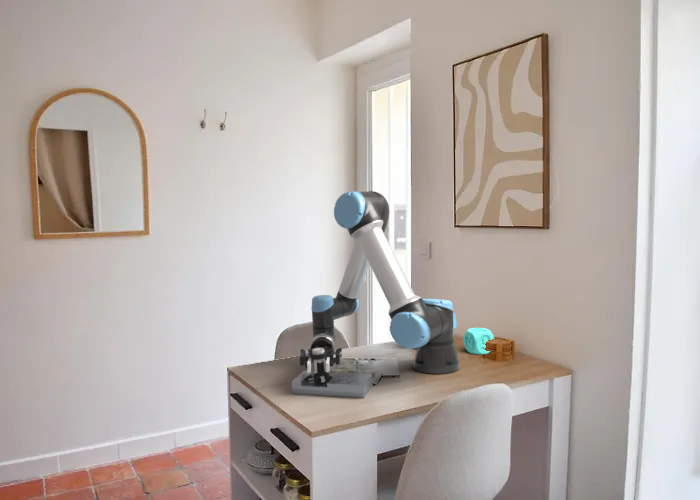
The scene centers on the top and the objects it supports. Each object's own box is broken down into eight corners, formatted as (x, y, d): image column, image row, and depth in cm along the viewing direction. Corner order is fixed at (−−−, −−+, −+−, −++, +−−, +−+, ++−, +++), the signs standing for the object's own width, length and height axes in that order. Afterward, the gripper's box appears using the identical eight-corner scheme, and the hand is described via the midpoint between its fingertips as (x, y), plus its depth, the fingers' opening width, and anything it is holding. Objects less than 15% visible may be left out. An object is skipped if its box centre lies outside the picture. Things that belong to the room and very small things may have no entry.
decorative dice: (481, 347, 209) (480, 326, 208) (494, 352, 202) (494, 330, 201) (463, 350, 206) (463, 329, 205) (476, 355, 199) (476, 333, 198)
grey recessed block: (372, 385, 170) (372, 373, 170) (364, 398, 159) (363, 385, 159) (304, 382, 176) (304, 370, 176) (292, 393, 165) (291, 381, 165)
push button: (312, 386, 165) (309, 354, 164) (305, 382, 170) (302, 350, 169) (333, 381, 168) (329, 349, 167) (325, 377, 172) (322, 345, 171)
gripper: (349, 357, 186) (349, 379, 163) (295, 359, 186) (288, 381, 163) (348, 335, 186) (348, 354, 162) (295, 337, 186) (286, 356, 163)
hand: (318, 368), depth 163 cm, fingers closed on push button, 5 cm apart
